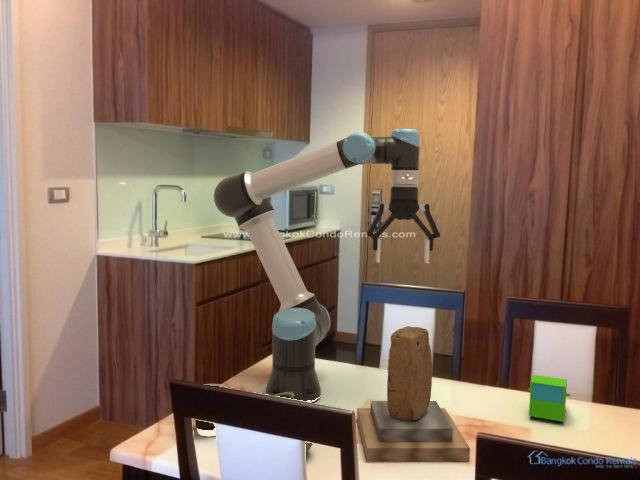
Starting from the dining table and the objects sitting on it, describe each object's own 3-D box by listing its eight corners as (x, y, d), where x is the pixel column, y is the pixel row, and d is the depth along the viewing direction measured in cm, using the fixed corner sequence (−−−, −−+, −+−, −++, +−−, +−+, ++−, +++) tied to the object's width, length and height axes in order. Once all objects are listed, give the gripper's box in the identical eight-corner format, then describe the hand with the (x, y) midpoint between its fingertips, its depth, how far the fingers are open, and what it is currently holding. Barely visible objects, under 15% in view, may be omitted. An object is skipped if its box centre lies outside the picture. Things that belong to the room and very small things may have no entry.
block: (412, 425, 130) (414, 336, 128) (383, 416, 134) (385, 330, 132) (435, 410, 138) (438, 327, 136) (407, 403, 143) (409, 321, 141)
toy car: (570, 408, 157) (572, 371, 156) (568, 427, 145) (570, 387, 144) (529, 401, 161) (531, 366, 160) (524, 419, 149) (526, 381, 148)
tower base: (366, 461, 125) (367, 434, 125) (356, 419, 147) (357, 396, 147) (469, 461, 126) (470, 434, 126) (444, 419, 148) (445, 396, 147)
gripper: (360, 185, 158) (359, 263, 161) (452, 186, 159) (449, 264, 162) (358, 185, 166) (356, 260, 168) (446, 186, 167) (443, 260, 169)
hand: (402, 262), depth 165 cm, fingers open, 13 cm apart
